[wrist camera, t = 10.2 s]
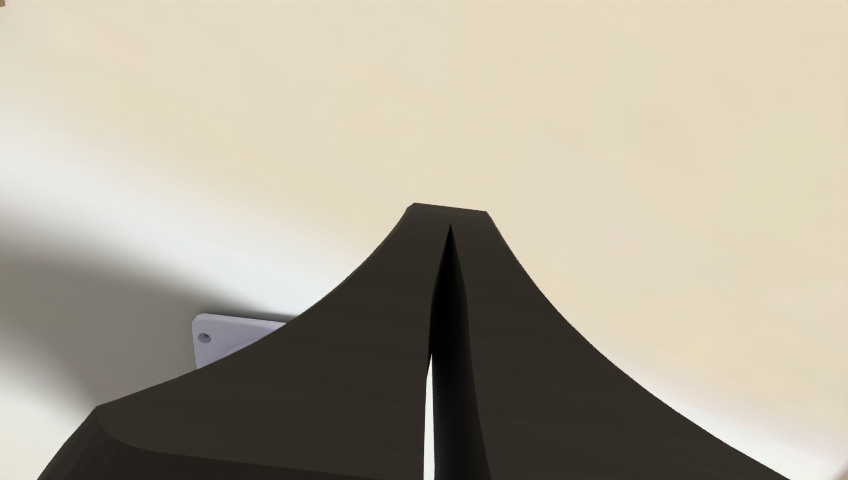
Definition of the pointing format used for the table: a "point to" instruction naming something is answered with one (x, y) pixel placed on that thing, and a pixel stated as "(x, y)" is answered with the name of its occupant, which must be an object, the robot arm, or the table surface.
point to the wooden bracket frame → (2, 3)
